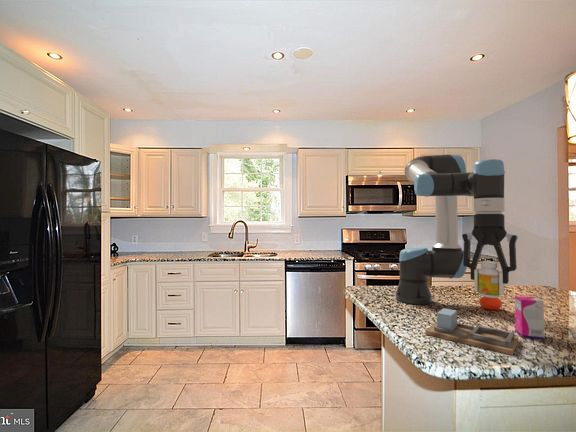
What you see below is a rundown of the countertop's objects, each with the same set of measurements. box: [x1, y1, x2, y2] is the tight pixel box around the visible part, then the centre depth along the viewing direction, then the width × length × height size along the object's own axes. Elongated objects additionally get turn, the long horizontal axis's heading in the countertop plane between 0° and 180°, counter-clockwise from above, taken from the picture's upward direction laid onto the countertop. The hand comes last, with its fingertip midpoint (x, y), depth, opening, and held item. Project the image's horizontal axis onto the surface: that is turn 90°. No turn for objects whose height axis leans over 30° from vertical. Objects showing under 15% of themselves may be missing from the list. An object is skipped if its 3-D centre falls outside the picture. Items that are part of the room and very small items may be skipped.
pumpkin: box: [478, 296, 503, 311], centre depth 123 cm, size 7×8×6 cm
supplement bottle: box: [477, 260, 501, 298], centre depth 89 cm, size 5×5×10 cm
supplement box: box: [514, 295, 546, 340], centre depth 95 cm, size 6×6×12 cm
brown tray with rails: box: [425, 321, 519, 356], centre depth 93 cm, size 22×13×3 cm, turn 48°
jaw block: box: [436, 308, 458, 331], centre depth 97 cm, size 4×7×5 cm, turn 138°
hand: (489, 292), depth 89 cm, fingers closed on supplement bottle, 5 cm apart
